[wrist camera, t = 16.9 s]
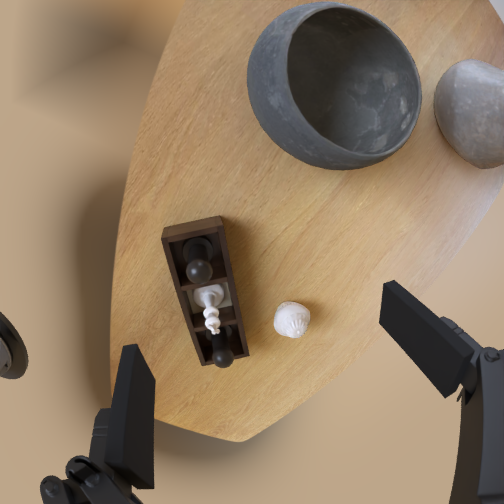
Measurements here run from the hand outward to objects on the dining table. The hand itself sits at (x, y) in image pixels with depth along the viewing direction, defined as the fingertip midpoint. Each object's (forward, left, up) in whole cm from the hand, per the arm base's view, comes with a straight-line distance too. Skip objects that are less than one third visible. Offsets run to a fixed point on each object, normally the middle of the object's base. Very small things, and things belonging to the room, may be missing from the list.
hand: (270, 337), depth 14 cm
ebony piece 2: (-4, -20, -28) cm, 35 cm away
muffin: (+8, -20, -29) cm, 36 cm away
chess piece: (-4, -13, -28) cm, 31 cm away
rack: (-4, -13, -29) cm, 32 cm away
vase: (+45, +12, -29) cm, 55 cm away
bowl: (+15, +14, -29) cm, 35 cm away
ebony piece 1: (-4, -6, -28) cm, 29 cm away
